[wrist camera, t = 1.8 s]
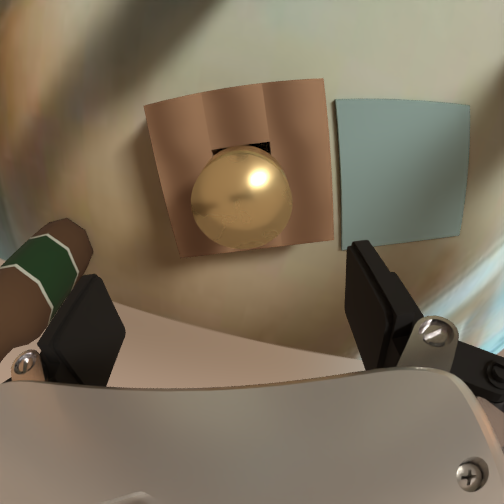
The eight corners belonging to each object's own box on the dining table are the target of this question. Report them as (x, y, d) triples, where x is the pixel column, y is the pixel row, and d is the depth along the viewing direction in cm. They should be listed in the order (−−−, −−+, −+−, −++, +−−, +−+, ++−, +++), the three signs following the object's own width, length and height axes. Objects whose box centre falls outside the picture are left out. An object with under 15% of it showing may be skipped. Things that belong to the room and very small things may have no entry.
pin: (273, 124, 27) (287, 148, 16) (280, 184, 30) (296, 243, 19) (209, 133, 27) (181, 163, 17) (220, 192, 30) (202, 254, 20)
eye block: (311, 80, 24) (323, 78, 20) (322, 217, 31) (333, 240, 27) (161, 102, 25) (143, 105, 21) (190, 233, 32) (180, 258, 28)
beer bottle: (43, 210, 31) (-90, 345, 10) (95, 222, 32) (-34, 389, 11) (48, 263, 34) (-51, 401, 14) (96, 276, 35) (6, 439, 15)
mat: (467, 105, 24) (469, 105, 24) (457, 233, 32) (459, 235, 32) (334, 99, 25) (335, 99, 25) (341, 248, 33) (342, 250, 33)
